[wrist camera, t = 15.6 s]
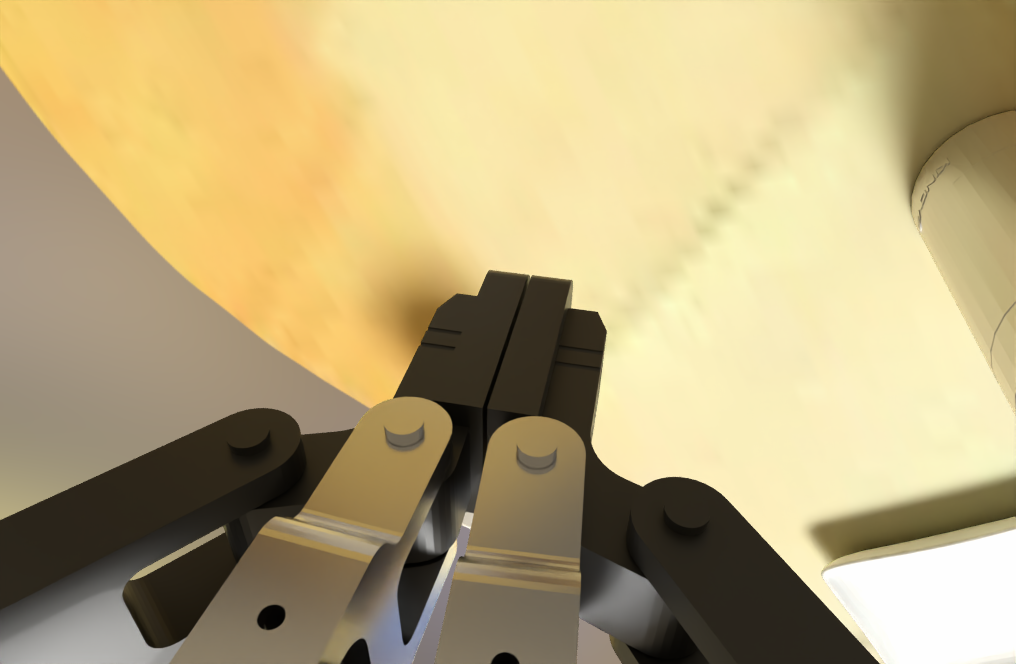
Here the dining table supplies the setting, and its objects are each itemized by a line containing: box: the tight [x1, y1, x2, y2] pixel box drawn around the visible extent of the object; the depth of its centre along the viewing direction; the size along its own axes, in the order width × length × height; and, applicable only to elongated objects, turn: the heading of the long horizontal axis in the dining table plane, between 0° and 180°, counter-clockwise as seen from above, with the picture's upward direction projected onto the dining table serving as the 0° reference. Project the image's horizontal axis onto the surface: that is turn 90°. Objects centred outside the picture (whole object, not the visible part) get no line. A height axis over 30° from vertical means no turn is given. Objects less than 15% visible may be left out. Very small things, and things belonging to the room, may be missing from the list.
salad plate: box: [821, 516, 1016, 664], centre depth 59 cm, size 21×21×3 cm
